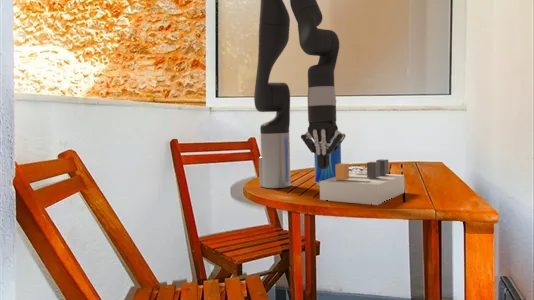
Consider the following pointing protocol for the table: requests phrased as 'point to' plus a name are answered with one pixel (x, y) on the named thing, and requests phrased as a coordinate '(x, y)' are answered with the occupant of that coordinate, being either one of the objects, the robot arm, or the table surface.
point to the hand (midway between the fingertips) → (323, 168)
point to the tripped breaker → (342, 171)
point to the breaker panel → (362, 188)
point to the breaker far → (383, 166)
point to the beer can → (330, 171)
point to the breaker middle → (373, 169)
